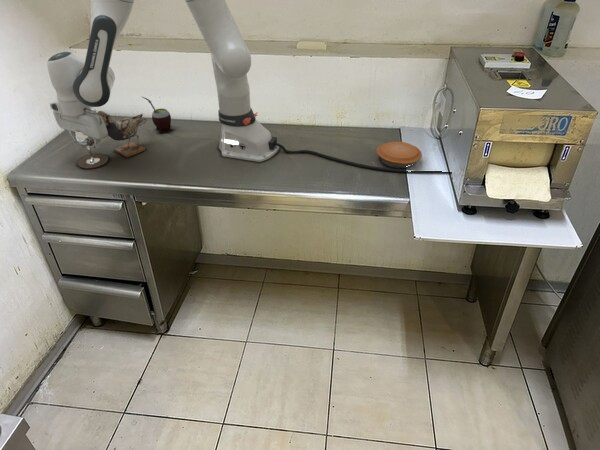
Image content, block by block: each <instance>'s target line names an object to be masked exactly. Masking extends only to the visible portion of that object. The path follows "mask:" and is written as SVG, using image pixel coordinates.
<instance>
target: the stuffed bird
mask: <svg viewBox="0 0 600 450" xmlns="http://www.w3.org/2000/svg"><path fill="white" fill-rule="evenodd" d="M96 112H97V113H98V114H99V115H100V116H101V117H102V119H103V121H104V123H105V126H106V128H107V131H108V135H107V137H109V138H111V139H112V140H114V141H119V142H120V141H126V140H128V141H127V143H125V144H123V145H121V146H119V147H116V148H114V149H113V150H114V152H115V153H117V154H119V155H121V156H123V157H125V158H130V157H132V156H135V155H136V154H139V153H142V152H144V151H146V147H144V146H142V145H140V144H139V143H136V142H134V141H131V142H130V140H131V138H134V137H136V138H137V141H139V135H138V130H139V127H141V126H142V125H145V124H146V122H148V118H144V117H143V116H144V115H143V114H144V112H142V113H140V114H137V115H135V116H129V117H124V118H121V119H118V120H116V119H115V118H114V117H112V115H110V114H109V113H107V112H106V111H103V110H98V111H96Z"/></svg>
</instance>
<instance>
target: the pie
mask: <svg viewBox="0 0 600 450" xmlns="http://www.w3.org/2000/svg"><path fill="white" fill-rule="evenodd" d="M376 153H377V155H378V157H379V158H380V160H381V162H382V164H384V165H385V166H387V167H388V168H391V169H404V170H405V169H408V168H411V167H412V166H413V165H414V164H416V163H417V162H418V161H419V160H421V159H422V156H423V154H422V151H421V150H420V149H419V147H418V146H415V145H413V144H411V143H408V142H404V141H389V142H385V143H382V144H381V145H379V146H377V148H376ZM412 164H413V165H412ZM408 165H411V166H408ZM406 166H408V167H406Z"/></svg>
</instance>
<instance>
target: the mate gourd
mask: <svg viewBox="0 0 600 450" xmlns="http://www.w3.org/2000/svg"><path fill="white" fill-rule="evenodd" d="M141 98H143V99H144V100H146V101H148V103H149V105H150V106H151V107H152V109H153V112H151V113H152V114H151V121H152V123H153V124H154V126H155V127H156V131H159V134H160V135H161V134H163V133H164V132H172V129H171V127H172V123H171V122H172V116H171V113H170V112H169V111H168V109H167V108H155V106H154V105H153V103H152V101H151V100H150V99H149V98H148V97H144V96H141Z"/></svg>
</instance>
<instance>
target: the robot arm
mask: <svg viewBox="0 0 600 450" xmlns="http://www.w3.org/2000/svg"><path fill="white" fill-rule="evenodd" d="M184 1H185V3H186V6H187V7H188V9H189V12H190V13H191V15H192V18H193V20H194V22H195V24H196V25H197V28H198V30H199V32H200V33H201V35H202V37H203V40H204V42H205V43H206V45H207V47H208V50H209V51H210V57H211V64H212V69H213V75H214V80H215V87H216V93H217V101H218V112H217V113H218V121H219V123H220V137H219V144H218V149H219V150H220V152H221V156H222V157H223V158H230V159H236V160H244V161H249V162H250V161H251V162H257V163H261V162H264V161H267V160H269V159H271V158H272V157H274V156H275V155H276V154H277V153H278V152H279V150H280V149H281V150H282V151H283V152H284V153H286V154H290V155H291V154H311V155H316V156H318V157H320V158H321V157H322V158H325V159H328V160H332V161H335V162H339V163H342V164H346V165H351V166H355V167H359V168H364V169H370V170H376V171H382V172H383V171H384V172H392V173H393V172H394V173H406V174H407V173H408V171H406V170H407V169H405V168H404V169H397V168H392V167H382V166H376V165H375V166H374V165H369V164H364V163H360V162H359V163H358V162H354V161H349V160H346V159H342V158H338V157H335V156H331V155H327V154H324V153H321V152H317V151H315V150H309V149H301V150H288V149H286V148H285V146H284V145H283V144H281V143H279V142H278V137H277V136H273V135H272V133H271V132H270V130H268V129H267V128H266V127H265V126H264V125H262V124H261V123H260V122H259V121H258V119H256V117H257V116H258V112H255V113H254V110H253V109H252V107H251V106H252V105H251V92H250V84H249V80H248V75H247V74H248V73H249V71H250V70H251V68H252V56H251V52H250V50H249V48H248V45H247V43H246V40H245V39H244V37H243V34H242V33H241V31H240V28H239V26H238V25H237V22H236V20H235V19H234V16H233V14H232V12H231V10H230V8H229V5H228V3H227V0H184ZM134 3H135V0H90V29H89V32H90V33H89V39H88V45H87V49H86V54H85V58H83V57H80V56H78V55H76V54H75V53H73V52H71V51H61V52H58V53H55V54H53V55H52V56H50V57H49V58H48V60H47V62H46V65H47V71H48V76H49V79H50V82H51V86H52V87H53V89H54V90H55V94H56V99H57V100H54V101H52V102H50V103H49V107H50V109H51V110H52V113H53V116H54V119H55V122H56V124H57V126H58V127H59V128H60V129H63V130H64V131H65V130H66V131H68V133H69V135H70V136H71V137H72V139H73V141H74V143H77V144H78V142H77V140H76V133H75V130H76V131H77V132H82V134H83V135H86V136H89V137H92V138H93V140H95V141H94V143H93V145H92V146H93V148H94V149H96V150H99V149H101V148H102V145H101V140H103V139H105V138H107V137H108V131H107V128H106V126H105V123H104V121H103V119H102V117H101V116H100V115H99V114H98V113H97V112H98V111H97V110H96V111H94V110H91V107H94V108H100V107H103V106H105V105H106V104H107V103H108V102H109V101H110V98H111V92H112V89H113V87H114V83H115V81H116V80H115V79H116V78H115V77H116V76H115V73H114V71H113V69H112V68H111V67H110V64H111V60H112V55H113V50H114V48H115V45H116V42H117V40H118V38H119V37H120V35H121V33H122V32H123V30H124V29H125V27H126V25H127V23H128V21H129V19H130V16H131V14H132V11H133V7H134ZM411 172H412V173H411V174H449V173H448V172H442V171H411Z"/></svg>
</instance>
